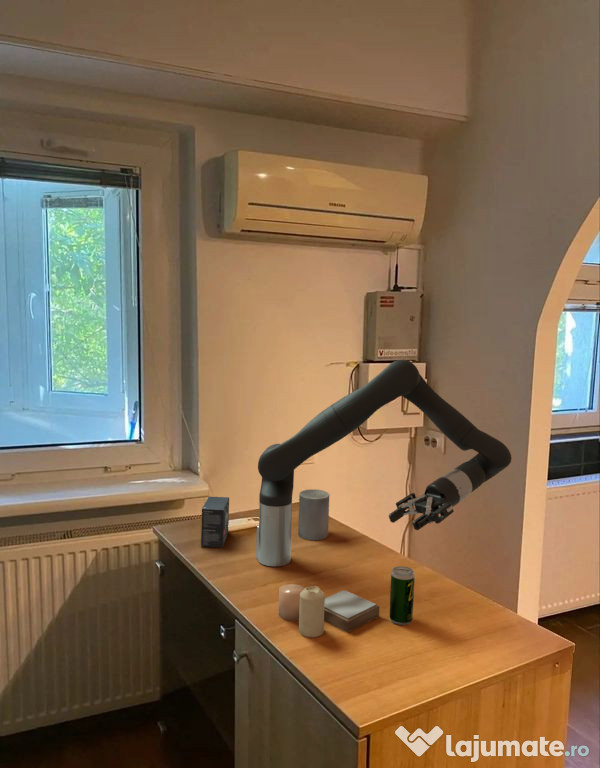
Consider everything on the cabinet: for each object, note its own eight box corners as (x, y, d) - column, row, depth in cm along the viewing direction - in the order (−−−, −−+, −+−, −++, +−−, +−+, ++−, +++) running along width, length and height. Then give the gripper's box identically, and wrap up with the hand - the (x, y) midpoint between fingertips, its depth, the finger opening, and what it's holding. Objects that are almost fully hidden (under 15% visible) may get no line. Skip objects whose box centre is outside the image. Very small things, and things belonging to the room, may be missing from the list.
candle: (315, 640, 132) (316, 596, 131) (294, 632, 135) (295, 589, 134) (328, 629, 137) (329, 586, 136) (307, 622, 140) (308, 580, 139)
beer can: (387, 623, 140) (389, 573, 139) (391, 612, 145) (393, 564, 144) (410, 627, 139) (413, 577, 137) (413, 616, 144) (416, 567, 142)
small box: (223, 548, 183) (223, 509, 182) (200, 547, 183) (200, 508, 182) (229, 532, 196) (229, 496, 195) (207, 532, 196) (208, 495, 195)
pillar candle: (296, 529, 200) (297, 485, 198) (326, 529, 201) (327, 485, 199) (299, 541, 190) (300, 494, 189) (330, 540, 191) (332, 494, 190)
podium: (312, 614, 144) (312, 602, 143) (343, 600, 151) (344, 588, 151) (347, 632, 136) (348, 619, 136) (378, 616, 144) (379, 604, 143)
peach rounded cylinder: (273, 613, 144) (273, 589, 143) (291, 605, 148) (292, 581, 147) (290, 623, 139) (291, 598, 139) (309, 614, 144) (310, 590, 143)
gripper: (424, 472, 156) (378, 503, 148) (466, 480, 144) (418, 514, 136) (433, 498, 157) (387, 530, 150) (475, 508, 145) (427, 543, 138)
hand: (402, 522), depth 143 cm, fingers open, 8 cm apart
